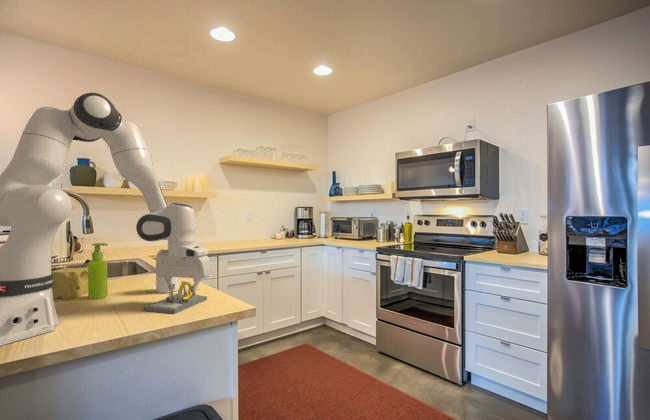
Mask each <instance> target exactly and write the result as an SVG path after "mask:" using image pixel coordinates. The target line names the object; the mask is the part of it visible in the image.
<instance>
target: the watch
mask: <svg viewBox="0 0 650 420" xmlns="http://www.w3.org/2000/svg"><path fill="white" fill-rule="evenodd" d="M185 285H187V295H186V297H184V298H183V297H182V300H185V299H187V298H189V297H190V296H191V295H192V291H191V286H192V285H193V284H192V283H191V281H189V280H188V281H187V280H184V281H181V282H180V285H179V288H178V290H182V291H184V286H185Z"/></svg>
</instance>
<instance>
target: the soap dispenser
mask: <svg viewBox="0 0 650 420" xmlns="http://www.w3.org/2000/svg"><path fill="white" fill-rule="evenodd" d="M108 245H109V244H108V243H105V242H99V243H98V242H97V243H91V246H93V247H94V251H93V252H91V260H92V261H91V262H88V293H87V294H88V300H102V299H106V298H108V294H109V293H108V287H109V286H108V283H109V282H108V260H104V251H102V250H101V246H103V247H107V246H108Z"/></svg>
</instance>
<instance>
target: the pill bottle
mask: <svg viewBox="0 0 650 420" xmlns="http://www.w3.org/2000/svg"><path fill="white" fill-rule="evenodd" d="M171 280H172V282H173V284H175V288H174V289H173V293H174V292H178V290H179V287H180V285H179V277H172V279H171ZM155 285H156V286H155V287H156V288H155V290H156V293H159V294H169V289H168V285H167V283H166V281H165V277H164V276H157V275H156V274H155Z"/></svg>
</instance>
